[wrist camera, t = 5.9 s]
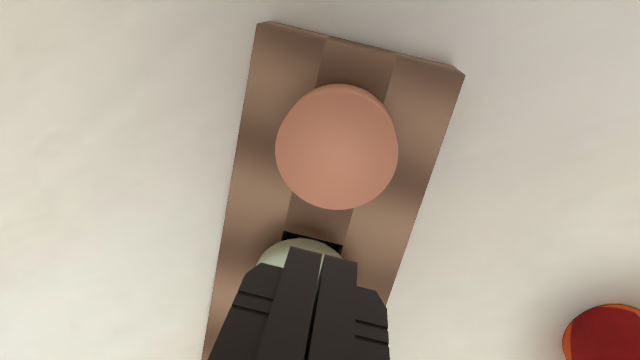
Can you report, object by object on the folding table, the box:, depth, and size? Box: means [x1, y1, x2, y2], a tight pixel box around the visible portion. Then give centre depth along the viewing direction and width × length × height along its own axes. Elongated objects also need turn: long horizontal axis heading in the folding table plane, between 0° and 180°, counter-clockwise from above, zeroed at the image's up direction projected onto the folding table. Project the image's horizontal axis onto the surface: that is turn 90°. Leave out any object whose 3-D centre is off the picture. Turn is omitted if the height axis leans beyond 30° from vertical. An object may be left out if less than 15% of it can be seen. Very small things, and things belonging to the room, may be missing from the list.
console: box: [201, 21, 465, 360], centre depth 27 cm, size 24×10×3 cm, turn 167°
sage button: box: [256, 235, 343, 277], centre depth 25 cm, size 5×5×5 cm
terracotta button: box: [275, 84, 398, 210], centre depth 22 cm, size 5×5×5 cm
